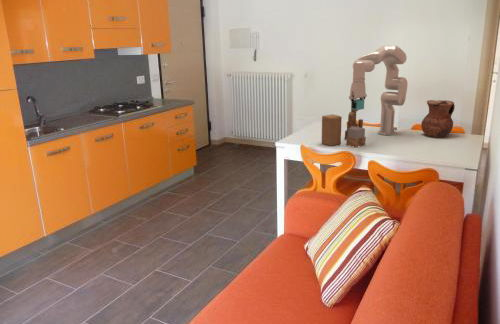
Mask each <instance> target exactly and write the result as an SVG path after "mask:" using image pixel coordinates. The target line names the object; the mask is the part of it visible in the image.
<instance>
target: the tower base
mask: <svg viewBox="0 0 500 324" xmlns="http://www.w3.org/2000/svg"><path fill="white" fill-rule="evenodd" d="M366 138H367V137H366V136H365V137H363V138H358V139H354V138H350V137H347V139H345V140H346V142H345V143H346V145H345V146H349V145H350V146H349V147H352V146H354V147H353V148H359V147H358V146H360V147H364V146H363V145H365V146H366V141H367V140H366Z"/></svg>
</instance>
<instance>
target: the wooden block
mask: <svg viewBox="0 0 500 324" xmlns="http://www.w3.org/2000/svg"><path fill="white" fill-rule="evenodd" d="M341 143H342V116H341V115H338V114H327V115H322V117H321V144H323V145H326V146H329V147H332V146H339V145H340V144H341Z"/></svg>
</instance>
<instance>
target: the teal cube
mask: <svg viewBox="0 0 500 324" xmlns="http://www.w3.org/2000/svg"><path fill="white" fill-rule="evenodd" d="M355 103H356V109H354V108H352V102H351V101H350V110H351V109H354V110H358V111H359V110H365V100H360V98H357V99H356V102H355Z"/></svg>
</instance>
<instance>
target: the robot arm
mask: <svg viewBox="0 0 500 324" xmlns="http://www.w3.org/2000/svg"><path fill="white" fill-rule="evenodd" d="M406 61H407V54H406V52H405V51H404V50H403V49H402V48H401V47H399V46H398V45H382V46H381V47H379V48H377V49H376V50H375V51H374V52H371V53H369V54H365V55H363V56H359V57H358V58H357V59H355V60H354V62H353V63H352V69H353V71H352V83H351V85H350V91H349V96H348V99H349V100H350V103H351V102H352V108H354V109H356V103H355V102H356V99H360V100H364V101H365V100H366V98H367V97H368V95H367V93H366V82H365V80H366V76H365V75H366V73H371V72H373V71H374V69H375V67H376V65H379V64H381V63H383V64H384V66H385V69H386V71H385V72H386V73H385V80H384V87H385V89H386V90H388V91H385V92H382V94H381V95H380V102H381V103H380V104H381V112H380V128H379V130H378V131H377V134H379V135H381V136H394V135H396V131H397V130H398V127H397V126H395V110H396V109H395V108H394V106H399V107H400V106H403V105H405V101H406V98H407V93H408V91H407V90H408V86H409V83H408V80H407V78H406V77H402V76H401V77H399V72H400V69H399V67H398V65H404V64H405V63H406ZM389 90H391V91H389ZM394 126H395V127H394Z"/></svg>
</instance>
